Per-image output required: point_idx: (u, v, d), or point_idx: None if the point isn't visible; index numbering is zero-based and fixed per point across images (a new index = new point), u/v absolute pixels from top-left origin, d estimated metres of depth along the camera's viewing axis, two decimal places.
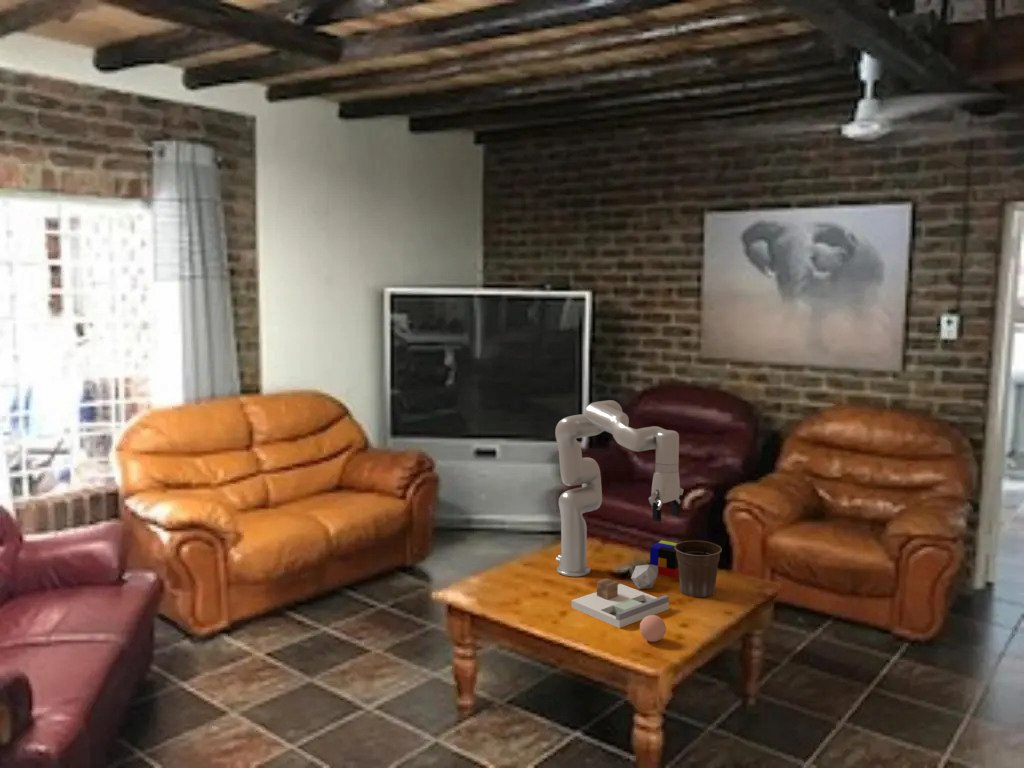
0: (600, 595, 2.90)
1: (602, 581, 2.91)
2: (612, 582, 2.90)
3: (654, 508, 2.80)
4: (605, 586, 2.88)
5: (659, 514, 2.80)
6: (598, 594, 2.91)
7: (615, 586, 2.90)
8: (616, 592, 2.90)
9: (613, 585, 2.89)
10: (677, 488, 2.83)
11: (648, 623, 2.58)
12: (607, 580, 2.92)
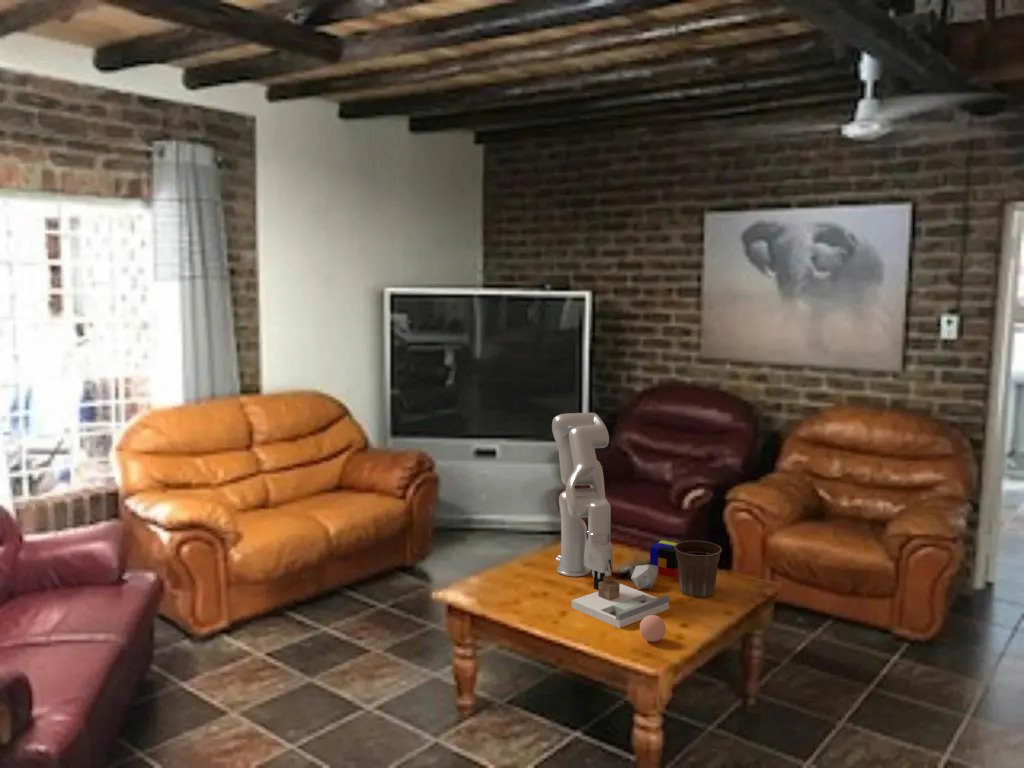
0: (602, 596, 2.89)
1: (604, 582, 2.90)
2: (614, 583, 2.89)
3: None
4: (606, 587, 2.87)
5: None
6: (600, 595, 2.90)
7: (617, 586, 2.89)
8: (618, 592, 2.89)
9: (615, 585, 2.88)
10: None
11: (648, 623, 2.58)
12: (609, 581, 2.91)
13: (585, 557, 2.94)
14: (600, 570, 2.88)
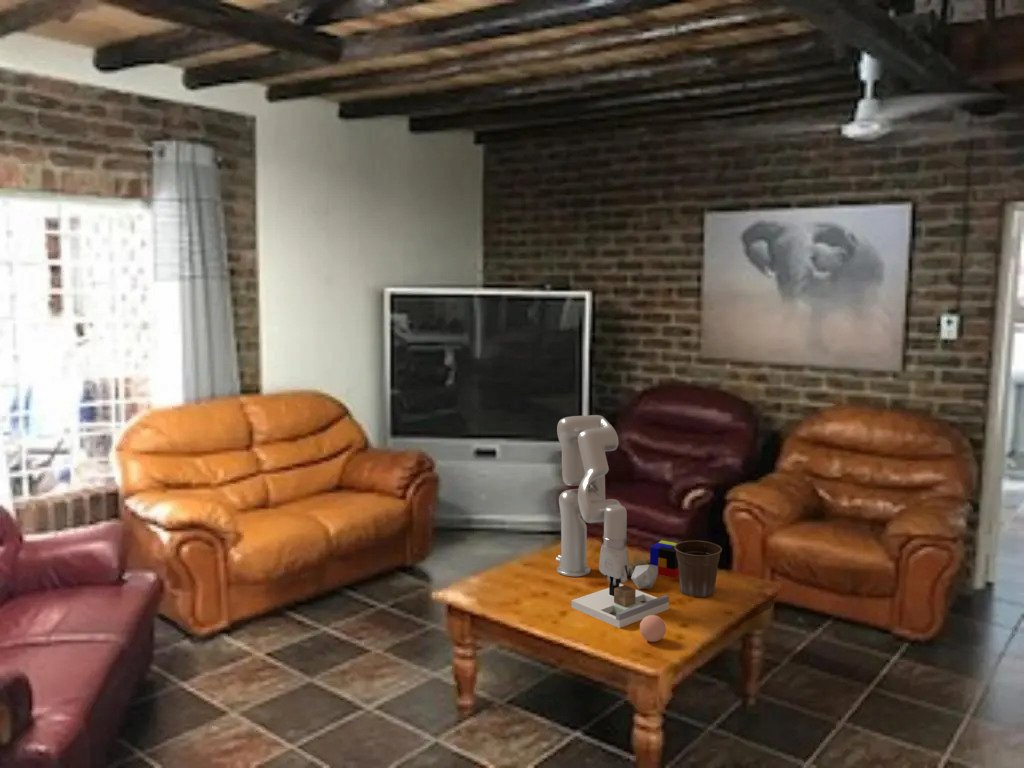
0: (617, 602, 2.84)
1: (619, 588, 2.85)
2: (630, 589, 2.84)
3: None
4: (622, 593, 2.82)
5: None
6: (616, 601, 2.84)
7: (633, 593, 2.83)
8: (634, 599, 2.84)
9: (631, 592, 2.82)
10: None
11: (648, 623, 2.58)
12: (625, 587, 2.85)
13: (600, 562, 2.88)
14: (616, 576, 2.83)
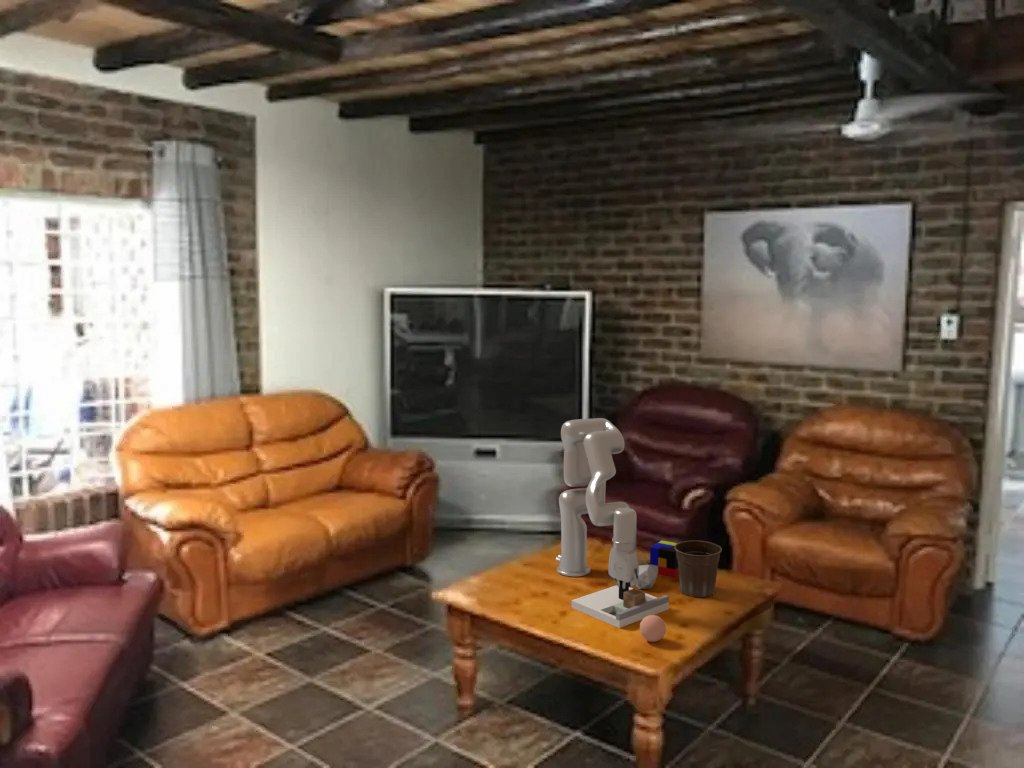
0: (627, 606, 2.80)
1: (629, 591, 2.81)
2: (639, 593, 2.80)
3: None
4: (632, 597, 2.78)
5: None
6: (625, 605, 2.81)
7: (643, 596, 2.80)
8: None
9: (640, 596, 2.79)
10: None
11: (648, 623, 2.58)
12: (634, 590, 2.82)
13: (610, 566, 2.85)
14: (626, 579, 2.80)
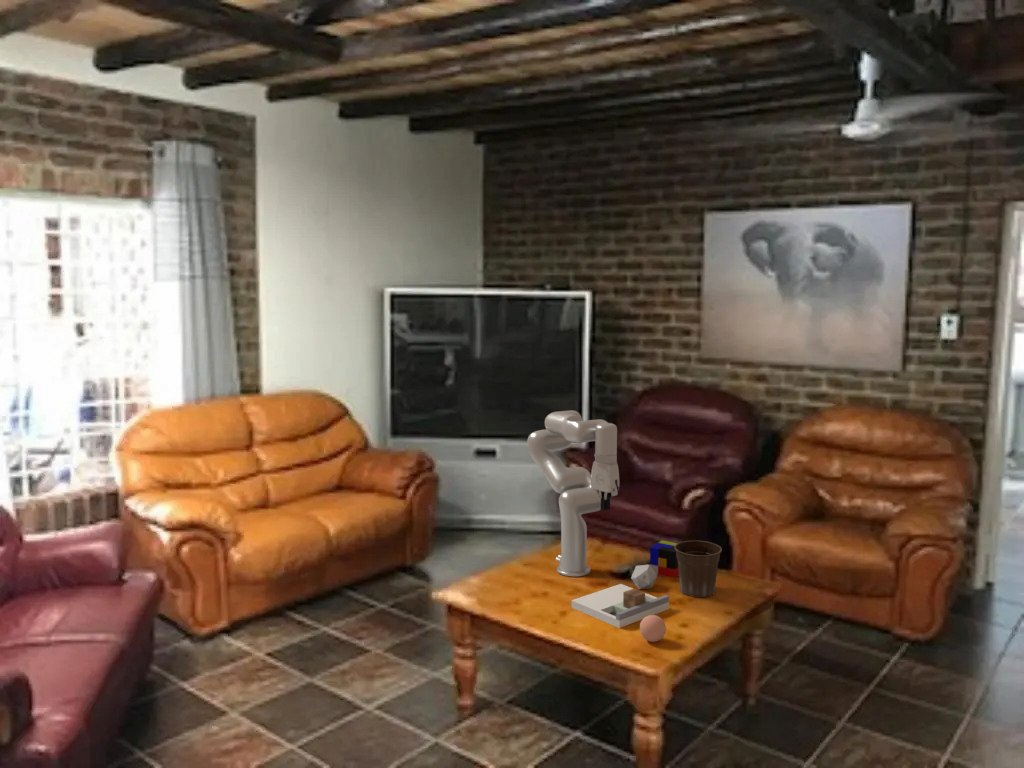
0: (627, 606, 2.80)
1: (629, 591, 2.81)
2: (639, 593, 2.80)
3: None
4: (632, 597, 2.78)
5: None
6: (625, 605, 2.81)
7: (642, 596, 2.80)
8: None
9: (640, 595, 2.79)
10: None
11: (648, 623, 2.58)
12: (634, 590, 2.82)
13: (592, 479, 3.01)
14: (607, 490, 2.95)
